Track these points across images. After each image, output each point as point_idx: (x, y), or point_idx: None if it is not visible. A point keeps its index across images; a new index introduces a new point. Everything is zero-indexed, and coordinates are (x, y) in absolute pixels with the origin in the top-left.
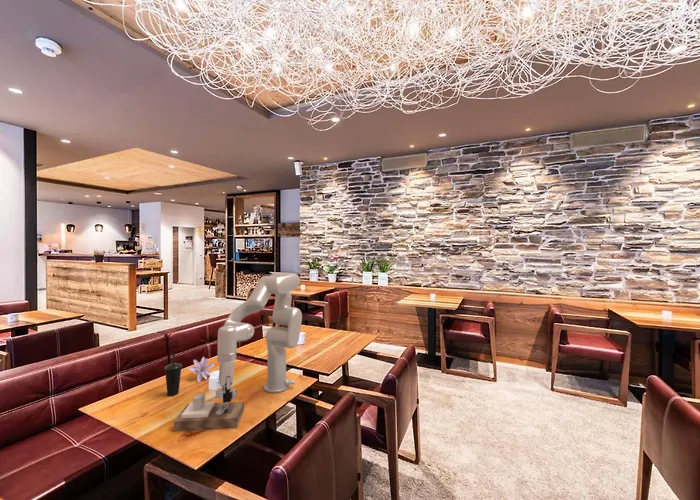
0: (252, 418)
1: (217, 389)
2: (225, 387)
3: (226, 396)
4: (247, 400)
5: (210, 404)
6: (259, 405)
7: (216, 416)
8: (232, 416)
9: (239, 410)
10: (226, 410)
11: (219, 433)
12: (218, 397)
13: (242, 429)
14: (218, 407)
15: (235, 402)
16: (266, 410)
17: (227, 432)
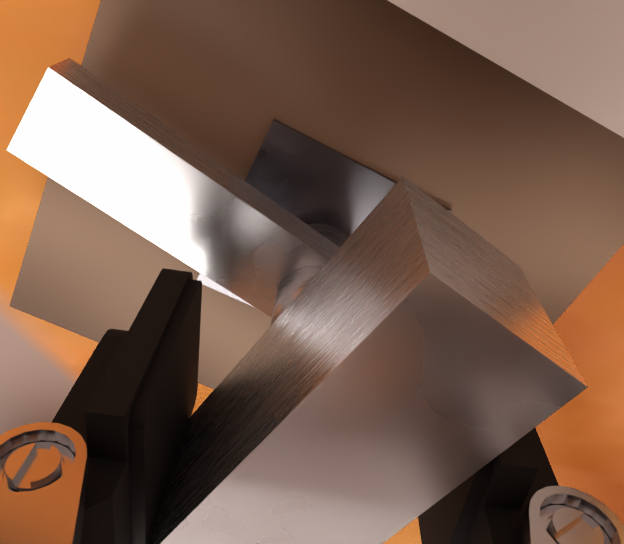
0: (194, 407)
1: (523, 342)
2: (474, 536)
3: (77, 408)
4: (602, 471)
5: (593, 49)
6: None
7: (179, 67)
8: (76, 269)
9: (206, 376)
10: None
11: (16, 40)
12: (354, 239)
13: (15, 281)
14: (483, 166)
15: None
16: None
17: (7, 132)
